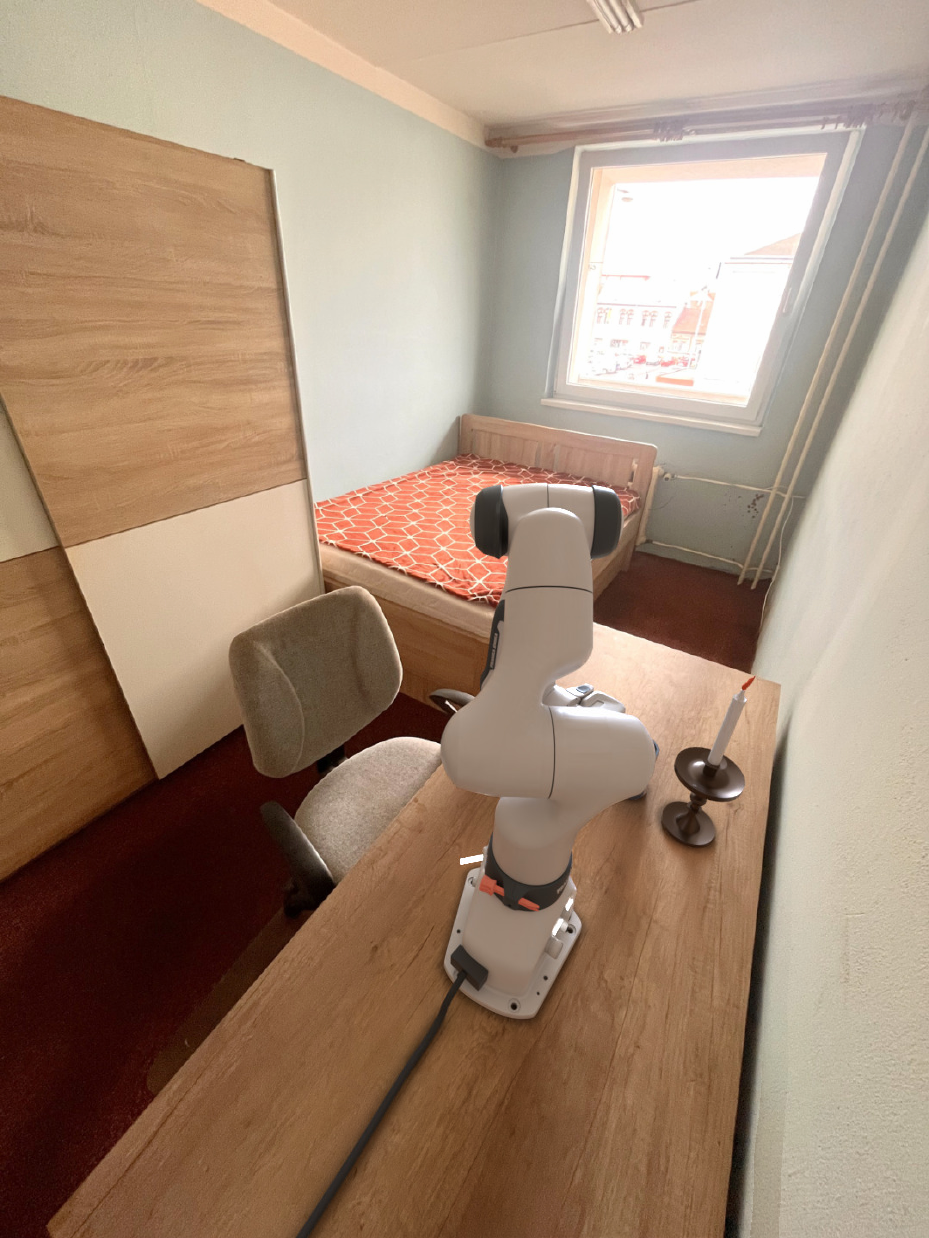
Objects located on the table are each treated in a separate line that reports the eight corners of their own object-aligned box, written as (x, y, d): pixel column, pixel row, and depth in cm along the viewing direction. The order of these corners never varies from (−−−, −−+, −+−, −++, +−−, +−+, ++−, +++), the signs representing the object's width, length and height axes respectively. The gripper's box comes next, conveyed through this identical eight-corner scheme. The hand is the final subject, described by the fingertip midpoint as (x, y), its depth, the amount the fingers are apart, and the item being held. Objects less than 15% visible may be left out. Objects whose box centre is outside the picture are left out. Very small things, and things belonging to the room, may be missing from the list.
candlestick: (727, 824, 93) (800, 673, 74) (706, 864, 86) (780, 709, 67) (670, 790, 99) (724, 643, 80) (645, 826, 92) (698, 674, 73)
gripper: (532, 724, 98) (592, 765, 90) (592, 680, 110) (650, 712, 102) (529, 747, 101) (586, 789, 93) (587, 702, 113) (643, 735, 105)
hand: (620, 748), depth 97 cm, fingers open, 8 cm apart
